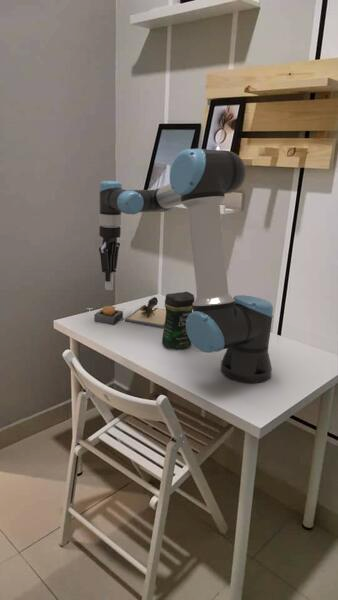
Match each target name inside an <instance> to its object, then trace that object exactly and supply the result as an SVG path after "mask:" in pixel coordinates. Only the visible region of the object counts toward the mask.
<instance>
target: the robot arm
mask: <svg viewBox="0 0 338 600" xmlns="http://www.w3.org/2000/svg"><path fill="white" fill-rule="evenodd" d="M246 175H247V169H246V165H245V162H244V161H243V159H242V158H241V156H239V155H238V154H237V153H235V152H233V151H230V150H225V149H224V150H223V149H222V150H218V149H206V148H199V147H198V148H197V147H196V148H187V149H184V150H181V151H180V152H179V153H178V154H177V155H176V156H175V158H174V160H173V162H172V164H171V167H170V170H169V184H166V185H162V186H161V187H158V188H156V189H155V188H154V189H123V188H122V183H121V182H120V181H116V180H103V181H101V182H100V183H99V185H100V186H99V191H98V193H99V215H98V218H99V227H98V229H99V237H100V238H102V243H101V244H102V246H101V247H98V251H99V255H100V263H101V272H102V273H104V290H107V291H112V290H114V273H116V272H117V267H118V257H119V250H120V246H121V243H120V242H118V238H120V237H121V233H122V232H121V230H122V229H121V225H122V213H123V214H125V215H137V214H138V213H150V212H152V213H154V212H155V213H156V212H157V213H158V212H160V213H163V212H169V211H171V210H172V209H173V208H174V207H176V206H180V205H183V206H184V207H185V208H186V209H187V212H188V223H189V231H190V240H191V242H190V243H191V250H192V251H191V252H192V260H193V269H194V280H195V289H196V299H194V302H193V304H192V305H193V311H192V313H191V314H189V316H188V317H187V318H188V319H187V320H186V331H187V335H188V337H189V339H190V341H191V345H193V346H194V347H195V348H196V349H197V350H198V351H200V352H203V353H207V354H209V353H210V354H211V353H215V352H216V353H217V352H221V351H224V350H225V349H226V351H225V352H224V354H223V357H222V359H221V361H220V371H221V374H223V376H225V377H226V378H228V379H230V380H233V381H236V382H240V383H247V384H257V383H263V382H266V381H267V380H269V379H270V378H271V376H272V369H273V368H272V364H271V359H270V354H269V344H270V338H271V331H272V330H271V329H272V323H273V318H274V316H273V311H274V310H273V309H274V308H273V304H272V303H271V302H270V301H268V300H266V299H263V298H261V297H257V296H253V295H243V294H241V295H235V296H234V297H233V296H231V295H230V293H229V286H228V285H229V283H228V274H227V263H226V255H225V243H224V235H223V226H222V214H221V204H222V203H223V202H224V200H225V199H226V198H225V195H226V194H231V193H234V192H236V191H237V190H239V189H240V188H241V187H242V186H243V183H244V182H245V179H246Z"/></svg>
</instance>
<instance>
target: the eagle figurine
mask: <svg viewBox="0 0 338 600" xmlns="http://www.w3.org/2000/svg"><path fill="white" fill-rule="evenodd" d="M158 303H159V301H158V298H157V297H155V296H153V297H152V298H151V299H149V300H148V303H147V305H146V304H144V305H141V306H142V307H141V306H140V307H141V308H140V307H139V308H140V310H141V311H146V312H145V313H147V314H148V316H147V318H148V317H149V316H150V314H151V313H152V314H154V311H155V310H156V309H157V308H158V307H155V306H157V305H158ZM152 308H156V309H154V310H152ZM154 315H155V314H154Z"/></svg>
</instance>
